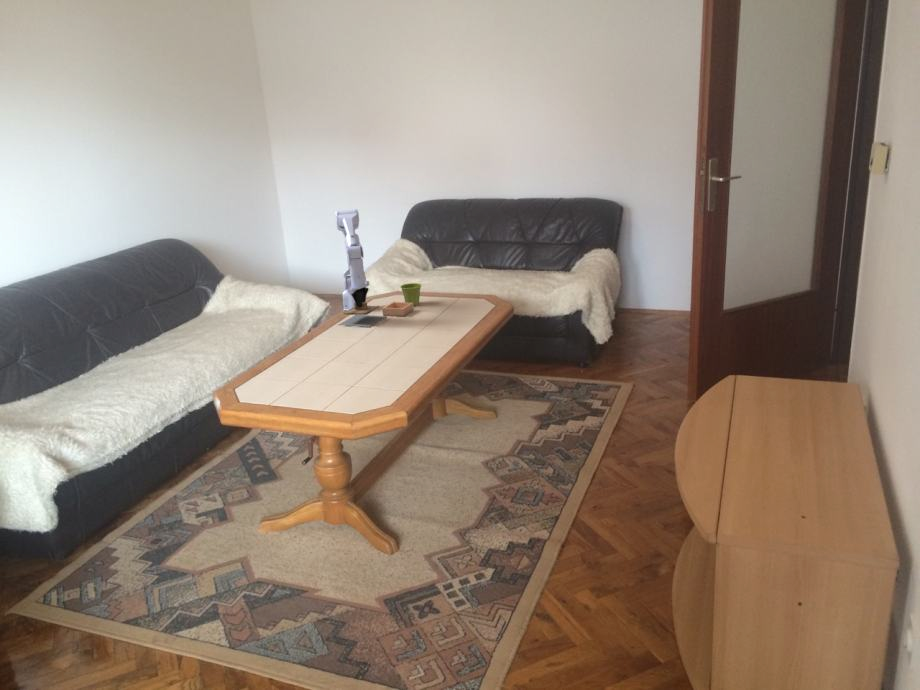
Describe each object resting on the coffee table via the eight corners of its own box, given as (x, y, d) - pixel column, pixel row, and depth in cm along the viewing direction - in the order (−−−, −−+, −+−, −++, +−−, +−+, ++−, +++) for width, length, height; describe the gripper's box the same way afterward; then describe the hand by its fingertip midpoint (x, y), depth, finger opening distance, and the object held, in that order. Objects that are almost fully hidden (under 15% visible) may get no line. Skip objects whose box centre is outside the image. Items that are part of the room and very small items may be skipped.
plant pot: (427, 302, 340) (425, 284, 337) (414, 308, 333) (413, 289, 330) (410, 300, 345) (408, 282, 342) (398, 306, 337) (396, 287, 335)
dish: (383, 315, 324) (382, 308, 323) (393, 309, 333) (392, 301, 332) (403, 317, 320) (403, 309, 319) (413, 310, 329) (413, 302, 328)
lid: (343, 314, 314) (342, 306, 313) (356, 307, 324) (355, 299, 323) (366, 314, 310) (365, 306, 309) (379, 307, 319) (378, 299, 318)
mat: (338, 325, 315) (338, 324, 314) (356, 315, 328) (356, 314, 327) (369, 327, 309) (369, 326, 309) (386, 317, 322) (386, 316, 322)
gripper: (357, 279, 304) (360, 311, 308) (374, 270, 317) (377, 301, 321) (342, 278, 307) (345, 310, 311) (359, 270, 319) (363, 301, 324)
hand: (361, 306), depth 316 cm, fingers closed on lid, 2 cm apart
